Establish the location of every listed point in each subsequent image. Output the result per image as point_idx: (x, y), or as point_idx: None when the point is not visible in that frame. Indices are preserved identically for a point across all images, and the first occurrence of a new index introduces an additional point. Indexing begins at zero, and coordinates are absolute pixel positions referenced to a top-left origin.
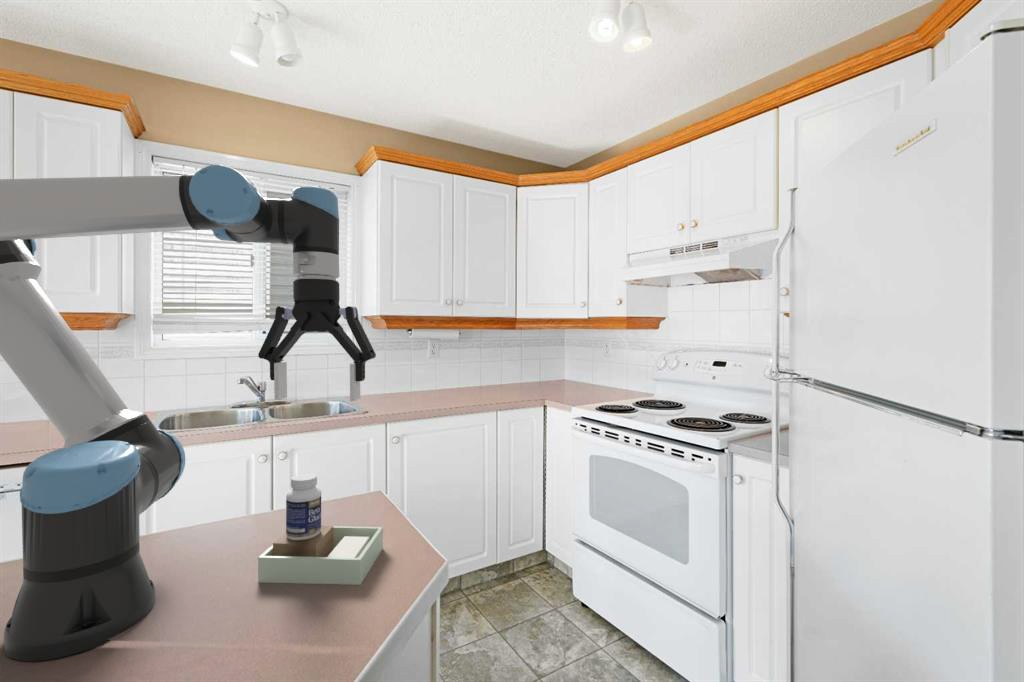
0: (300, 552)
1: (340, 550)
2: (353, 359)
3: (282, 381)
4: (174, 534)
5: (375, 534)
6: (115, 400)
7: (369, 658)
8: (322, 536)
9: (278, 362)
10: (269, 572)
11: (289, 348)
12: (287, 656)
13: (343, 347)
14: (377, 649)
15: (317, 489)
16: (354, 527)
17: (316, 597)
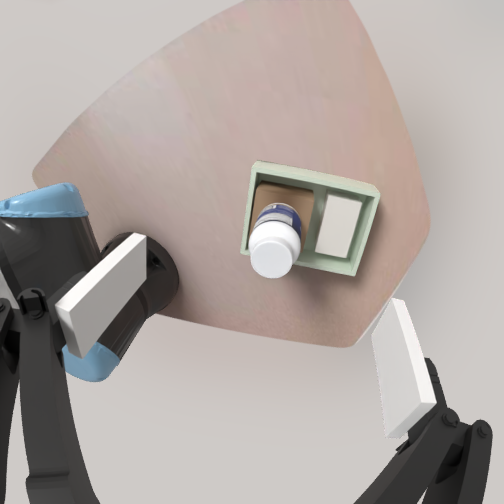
0: None
1: (328, 235)
2: (400, 450)
3: (116, 291)
4: (99, 112)
5: (371, 215)
6: None
7: (357, 339)
8: (305, 232)
9: (66, 337)
10: None
11: (57, 383)
12: (303, 331)
13: (363, 495)
14: (362, 333)
15: (295, 251)
16: (341, 187)
17: (310, 268)
